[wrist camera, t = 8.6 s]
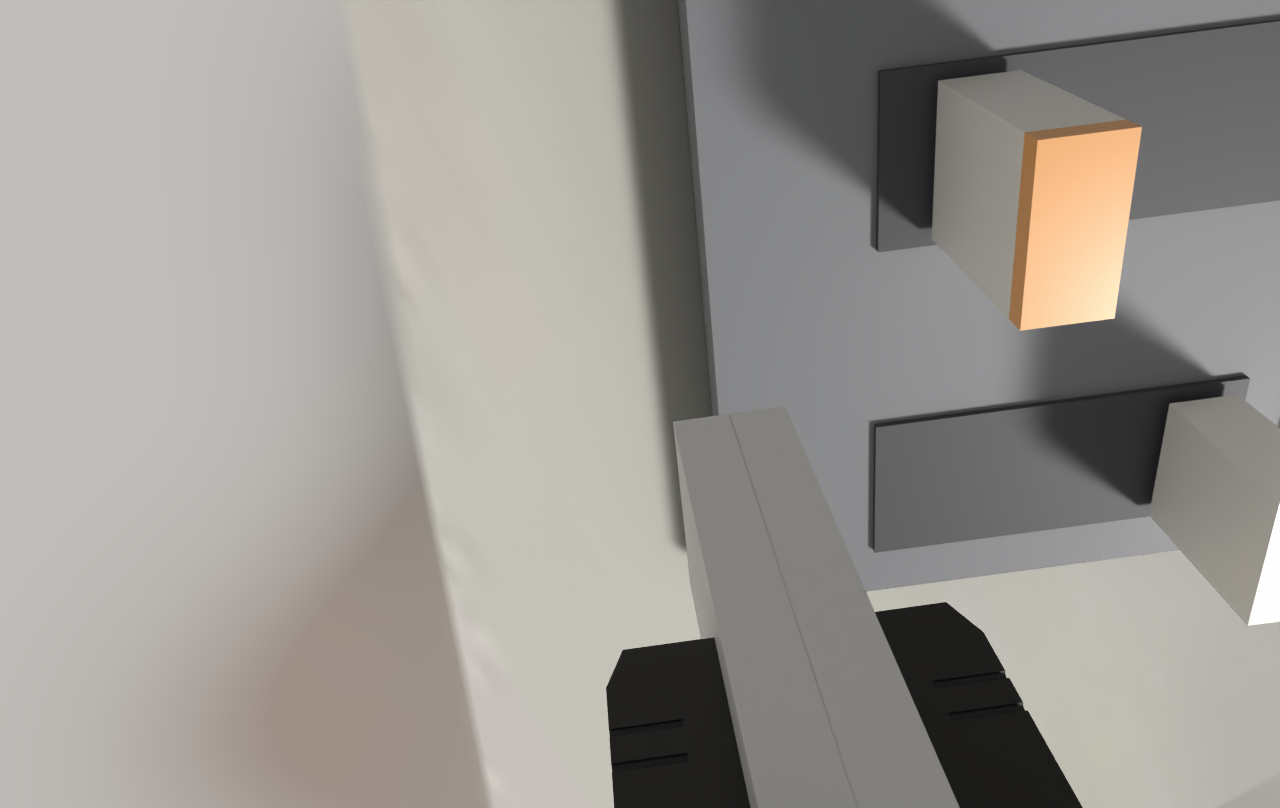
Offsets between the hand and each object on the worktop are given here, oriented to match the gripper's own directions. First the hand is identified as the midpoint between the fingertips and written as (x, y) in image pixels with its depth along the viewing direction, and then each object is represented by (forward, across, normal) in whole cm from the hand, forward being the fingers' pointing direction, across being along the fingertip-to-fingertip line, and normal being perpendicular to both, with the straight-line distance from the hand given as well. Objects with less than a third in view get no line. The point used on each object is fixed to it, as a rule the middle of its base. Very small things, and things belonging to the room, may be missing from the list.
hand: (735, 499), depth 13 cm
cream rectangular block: (+13, +15, -10) cm, 22 cm away
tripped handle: (+13, +8, 0) cm, 15 cm away
